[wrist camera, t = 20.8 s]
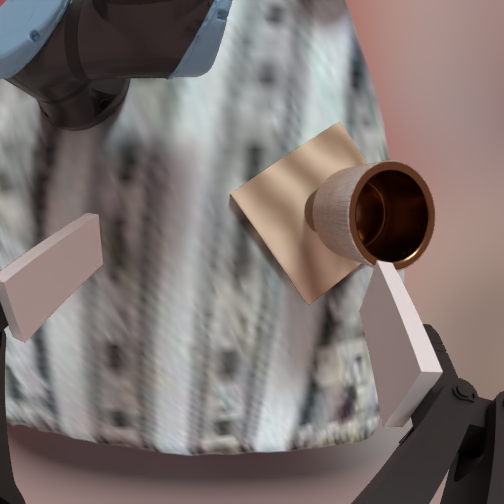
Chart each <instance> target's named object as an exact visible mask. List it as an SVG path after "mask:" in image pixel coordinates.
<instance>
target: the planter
mask: <svg viewBox="0 0 504 504" xmlns="http://www.w3.org/2000/svg"><path fill="white" fill-rule="evenodd" d="M313 222H314V226H315V229H316V232H317V234H318V236H319V238H320V240H321V241H322V242H323V244H324V245H325V246H326V247H327V248H328V249H329V250H331V251H332V252H333V253H335V254H337V255H338V256H341V257H344V258H346V259H349V260H352V261H356V262H359V263H362V264H365V265H367V266H370V267H373V268H375V265H376V262H377V261H383V262H388V263H392V264H393V266H394V267H395V269H396V271H400V270H403V269H405V268H407V267H409V266H411V265H412V264H414V263H415V262H416V261H417V260H418V259H419V258H420V257H421V256H422V255H423V253H424V252H425V251H426V249H427V247H428V245H429V243H430V241H431V238H432V235H433V231H434V226H435V206H434V201H433V197H432V194H431V191H430V189H429V187H428V185H427V183H426V181H425V180H424V178H423V177H422V176H421V175H420V174H419V173H418V172H417V171H416V170H415V169H414V168H412V167H411V166H409V165H408V164H406V163H403V162H400V161H394V160H386V161H380V162H375V163H370V164H365V165H360V166H354V167H349V168H345V169H342V170H339V171H337V172H335V173H333V174H332V175H330V176H329V177H328V178H327V179H326V180H325V181H324V182H323V183H322V185H321V186H320V188H319V189H318V191H317V194H316V196H315V199H314V204H313Z"/></svg>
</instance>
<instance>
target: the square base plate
mask: <svg viewBox="0 0 504 504" xmlns="http://www.w3.org/2000/svg"><path fill="white" fill-rule="evenodd" d="M365 164H367V163H366V162H365V160H364V158H363V157H362V155H361V153H360V152H359V150H358V149H357V147H356V145H355V144H354V142H353V141H352V139H351V138H350V136H349V134H348V133H347V131H346V130H345V128H344V127H343V125H342V124H341V122H338V123H336V124H334V125H333V126H331V127H330V128H328V129H326V130H325V131H323V132H322V133H320V134H319V135H317V136H315V137H314V138H312V139H311V140H309V141H308V142H306V143H305V144H303V145H301V146H300V147H298V148H297V149H295V150H294V151H292V152H291V153H289V154H288V155H286V156H285V157H283V158H282V159H280V160H279V161H277V162H276V163H274V164H273V165H271V166H270V167H268V168H267V169H265V170H264V171H262V172H261V173H260V174H258V175H257V176H255V177H254V178H252V179H251V180H249V181H248V182H246V183H245V184H244V185H242V186H241V187H239V188H238V189H236V190H235V191H234V192H232V193H231V194H230V195H231V196H232V197H233V199H234V200H235V202H236V203H237V204H238V206H239V207H240V209H241V210H242V212H243V213H244V214H245V216H246V217H247V219H248V220H249V221H250V223H251V224H252V226H253V227H254V228H255V230H256V231H257V233H258V234H259V236H260V237H261V238H262V240H263V241H264V243H265V244H266V246H267V247H268V248H269V250H270V251H271V253H272V254H273V256H274V257H275V258H276V260H277V261H278V263H279V264H280V266H281V267H282V268H283V270H284V271H285V273H286V274H287V276H288V277H289V278H290V280H291V281H292V283H293V284H294V286H295V287H296V289H297V290H298V291H299V293H300V294H301V296H302V297H303V299H304V300H305V302H306V303H307V304H309V305H310V304H311V303H312V302H313V301H315V300H316V299H317V298H319V297H320V296H321V295H323V294H324V293H325V292H326V291H328V290H329V289H330V288H331V287H333V286H334V285H335V284H337V283H338V282H339V281H340V280H342V279H343V278H344V277H345V276H347V275H348V274H349V273H350V272H352V271H353V270H354V269H355V268H356V267H358V266H359V265H360V264H361V263H359V262H356V261H352V260H349V259H346V258H344V257H341V256H338V255H337V254H335V253H333V252H332V251H331V250H329V249H328V248H327V247H326V246H325V245H324V244H323V242H322V241H321V240H320V238H319V236H318V234H317V232H316V229H315V226H314V222H313V204H314V199H315V196H316V194H317V191H318V189H319V188H320V186H321V185H322V183H323V182H324V181H325V180H326V179H327V178H328V177H329V176H330V175H332V174H333V173H335V172H337V171H339V170H342V169H345V168H349V167H354V166H360V165H365Z"/></svg>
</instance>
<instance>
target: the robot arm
mask: <svg viewBox="0 0 504 504" xmlns="http://www.w3.org/2000/svg"><path fill="white" fill-rule="evenodd" d="M231 4H232V0H7V1H6V2H5V3H4V4H3V5H2V6H1V7H0V79H1V78H2V79H5V80H6V81H8V82H9V83H11V84H13V85H14V86H16V87H18V88H19V89H21V90H22V91H24V92H26V93H27V94H29V95H30V96H32V97H34V98H35V99H37V102H38V104H39V106H40V109H41V111H42V113H43V115H44V116H45V117H46V119H47V120H49V121H50V122H51V123H52V124H54V125H56V126H58V127H60V128H62V129H65V130H71V131H78V130H84V129H87V128H90V127H93V126H95V125H97V124H99V123H100V122H102V121H103V120H105V119H106V118H107V117H109V116H110V115H111V114H112V113H113V112H114V111H115V110H116V109H117V107H118V106H119V105H120V103H121V102H122V100H123V99H124V97H125V95H126V92H127V90H128V87H129V83H130V78H166V79H173V78H174V77H198V76H201V75H203V74H205V73H207V72H208V71H209V70H210V69H211V67H212V65H213V63H214V61H215V58H216V56H217V53H218V50H219V47H220V44H221V40H222V37H223V33H224V30H225V26H226V22H227V16H228V14H229V10H230V7H231ZM102 265H103V258H102V249H101V238H100V227H99V215H98V214H92V213H85V214H84V215H82V216H81V217H79V218H77V219H76V220H74V221H73V222H71V223H69V224H68V225H66V226H65V227H63V228H62V229H60V230H59V231H57V232H56V233H54V234H52V235H51V236H49V237H48V238H46V239H45V240H44V241H42V242H41V243H39V244H38V245H36V246H35V247H33V248H32V249H30V250H29V251H28V252H26V253H25V254H23V255H22V256H20V257H19V258H18V259H16V260H15V261H14V262H12V263H11V264H9V265H8V266H7V267H5V268H4V269H3V270H1V271H0V504H26V503H25V501H24V499H23V496H22V495H21V493H20V491H19V490H18V488H17V486H16V484H15V481H14V477H13V472H12V466H11V459H10V452H9V445H8V435H7V424H6V409H5V351H6V333H5V331H4V329H5V328H6V327H7V326H8V325H9V328H10V330H11V333H12V335H13V337H14V338H16V339H18V340H20V341H22V342H24V343H25V342H26V341H27V340H28V339H29V338H30V337H31V336H32V335H33V334H34V333H35V332H36V330H37V329H38V328H39V327H40V326H41V325H42V324H43V323H44V322H45V321H46V320H47V319H48V318H49V317H50V316H51V315H52V314H53V313H54V312H55V311H56V309H57V308H58V307H59V306H60V305H61V304H62V303H63V302H64V301H65V300H66V299H67V298H68V297H69V296H70V295H71V294H72V293H73V292H74V291H75V290H76V289H77V288H78V287H80V286H81V285H82V284H83V283H84V282H85V281H86V280H87V279H88V278H89V277H90V276H91V275H92V274H93V273H94V272H95V271H96V270H97V269H98V268H99V267H100V266H102ZM360 315H361V319H362V323H363V328H364V332H365V336H366V341H367V345H368V350H369V355H370V359H371V364H372V369H373V374H374V379H375V385H376V390H377V396H378V401H379V407H380V413H381V419H382V425H383V427H403V426H404V424H405V423H406V422H407V421H408V420H409V418H410V417H411V419H412V423H413V427H412V428H411V429H410V430H409V431H408V433H407V434H406V435H405V436H404V437H403V438H402V439H401V441H400V442H399V443H400V444H399V446H398V447H397V448H396V450H395V451H394V453H393V454H392V455H391V456H390V458H389V459H388V460H387V462H386V463H385V464H384V466H383V467H382V468H381V469H380V471H379V472H378V473H377V474H376V476H375V477H374V478H373V479H372V480H371V482H370V483H369V484H368V485H367V486H366V488H365V489H364V490H363V491H362V492H361V493H360V494H359V496H358V497H357V498H356V499H355V500H354V501H353V502H352V503H351V504H429V503H430V501H431V500H432V498H433V496H434V495H435V493H436V491H437V489H438V488H439V486H440V484H441V482H442V481H443V479H444V477H445V475H446V473H447V471H448V469H449V473H448V477H447V481H446V484H445V488H444V492H443V495H442V499H441V502H440V504H504V391H503V392H500V393H499V394H498V395H497V396H496V398H495V399H494V400H493V401H492V400H488V399H484V398H480V397H478V395H477V392H476V390H475V389H474V387H473V386H472V385H471V384H470V383H469V382H467V381H466V380H463V379H461V378H458V376H457V374H456V372H455V369H454V367H453V365H452V363H451V360H450V358H449V356H448V353H446V349H445V347H444V345H442V344H443V343H442V340H441V338H440V336H439V334H438V333H437V332H436V331H435V330H434V329H433V328H432V326H431V325H428V324H422V322H421V320H420V318H419V316H418V314H417V311H416V309H415V307H414V305H413V303H412V301H411V299H410V297H409V295H408V293H407V291H406V289H405V287H404V285H403V283H402V281H401V279H400V277H399V275H398V273H397V271H396V269H395V267H394V266H393V264H392V263H388V262H383V261H377V262H376V265H375V268H374V271H373V274H372V277H371V280H370V283H369V286H368V289H367V292H366V294H365V297H364V300H363V303H362V306H361V308H360ZM449 467H450V468H449Z"/></svg>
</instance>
